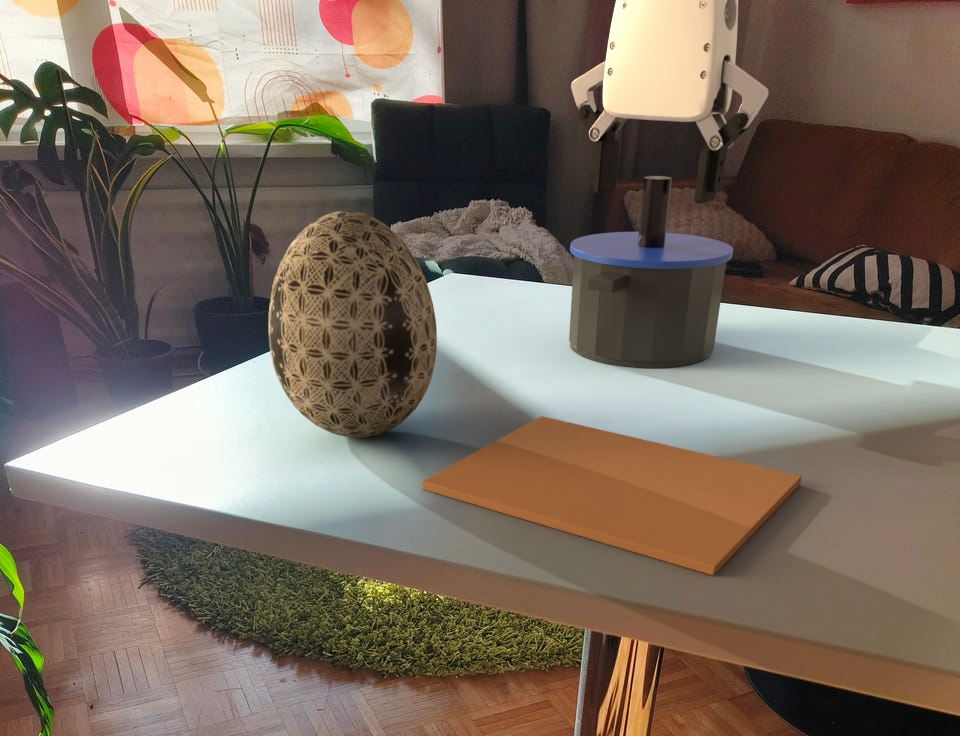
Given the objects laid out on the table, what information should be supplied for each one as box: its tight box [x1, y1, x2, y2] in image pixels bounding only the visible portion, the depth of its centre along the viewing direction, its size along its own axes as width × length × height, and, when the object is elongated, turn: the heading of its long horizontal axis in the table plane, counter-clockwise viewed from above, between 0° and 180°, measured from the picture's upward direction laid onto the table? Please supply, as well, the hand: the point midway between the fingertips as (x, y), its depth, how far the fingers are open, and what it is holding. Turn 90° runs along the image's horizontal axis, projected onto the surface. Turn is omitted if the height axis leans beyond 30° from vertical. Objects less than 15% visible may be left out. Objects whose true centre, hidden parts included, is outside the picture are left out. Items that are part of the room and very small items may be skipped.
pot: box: [568, 255, 727, 369], centre depth 83 cm, size 14×19×8 cm
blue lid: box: [569, 175, 734, 269], centre depth 80 cm, size 15×15×7 cm
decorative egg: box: [268, 210, 438, 439], centre depth 62 cm, size 12×12×15 cm
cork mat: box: [422, 415, 803, 576], centre depth 58 cm, size 20×15×1 cm
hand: (653, 196), depth 79 cm, fingers open, 9 cm apart
